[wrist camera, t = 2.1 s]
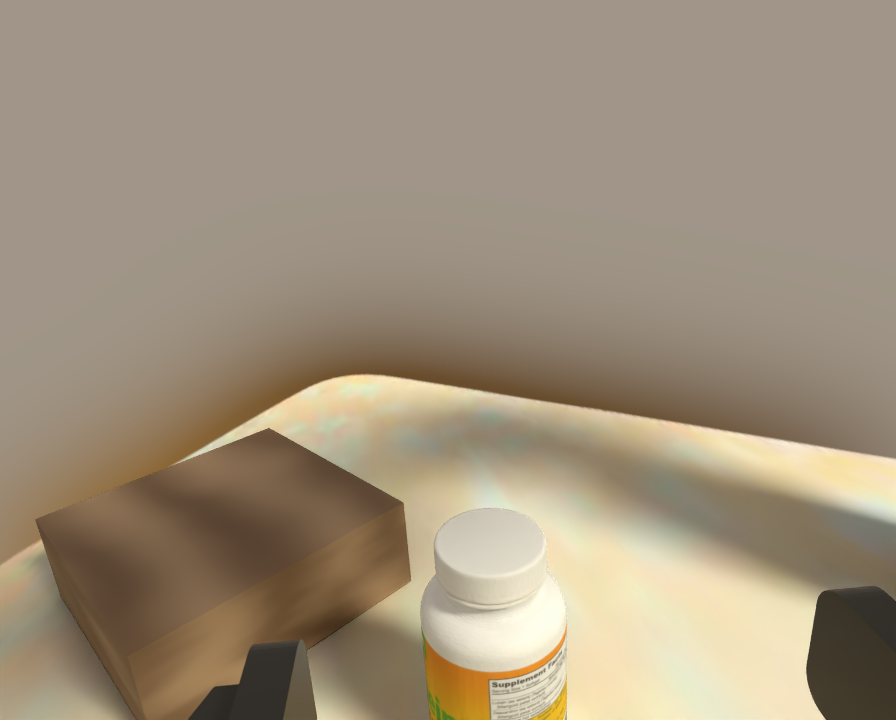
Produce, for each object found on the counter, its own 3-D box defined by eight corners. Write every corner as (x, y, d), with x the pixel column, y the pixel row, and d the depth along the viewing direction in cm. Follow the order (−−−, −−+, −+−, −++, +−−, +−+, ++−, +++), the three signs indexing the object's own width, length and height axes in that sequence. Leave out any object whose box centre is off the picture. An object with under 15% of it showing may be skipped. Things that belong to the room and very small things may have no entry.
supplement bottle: (416, 709, 28) (395, 516, 24) (529, 670, 29) (525, 484, 26) (459, 830, 23) (441, 610, 19) (592, 775, 24) (597, 563, 21)
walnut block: (280, 492, 45) (268, 427, 43) (411, 580, 35) (403, 502, 34) (60, 594, 36) (35, 519, 34) (155, 750, 26) (127, 656, 25)
